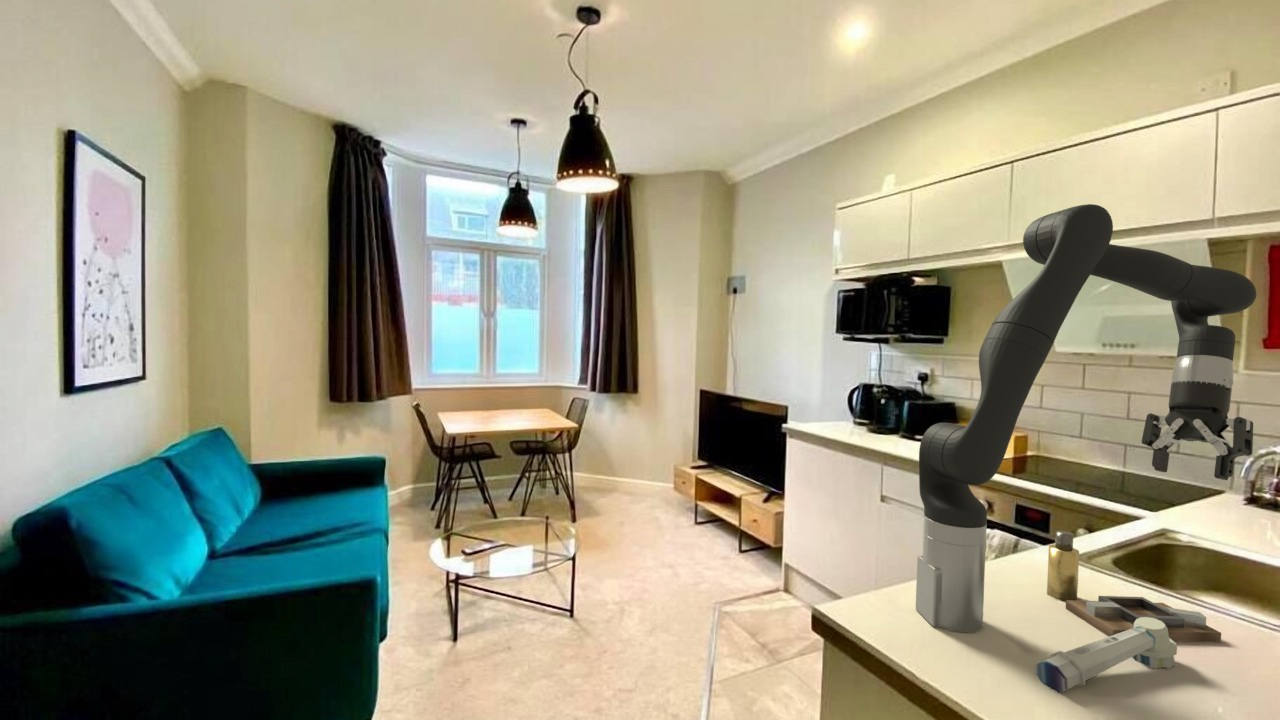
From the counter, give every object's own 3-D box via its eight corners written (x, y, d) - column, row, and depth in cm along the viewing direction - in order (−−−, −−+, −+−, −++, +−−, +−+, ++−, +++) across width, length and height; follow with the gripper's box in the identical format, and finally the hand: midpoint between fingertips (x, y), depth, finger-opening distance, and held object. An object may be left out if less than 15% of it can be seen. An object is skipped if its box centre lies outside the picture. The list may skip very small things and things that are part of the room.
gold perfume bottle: (1058, 601, 101) (1061, 537, 100) (1041, 590, 105) (1043, 528, 105) (1083, 602, 100) (1086, 537, 100) (1064, 590, 105) (1067, 529, 105)
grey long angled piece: (1029, 651, 77) (1142, 602, 85) (1032, 696, 78) (1144, 643, 86) (1069, 673, 72) (1185, 619, 80) (1072, 720, 73) (1186, 662, 81)
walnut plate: (1112, 638, 88) (1113, 629, 88) (1065, 608, 98) (1065, 600, 98) (1220, 642, 87) (1221, 632, 87) (1162, 611, 97) (1162, 602, 97)
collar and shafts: (1108, 625, 89) (1109, 614, 89) (1072, 603, 97) (1073, 593, 97) (1210, 628, 89) (1211, 617, 89) (1166, 606, 96) (1167, 596, 96)
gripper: (1139, 379, 103) (1127, 465, 101) (1239, 378, 89) (1228, 477, 87) (1167, 389, 105) (1156, 473, 103) (1270, 390, 91) (1259, 486, 89)
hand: (1189, 475), depth 95 cm, fingers open, 8 cm apart
